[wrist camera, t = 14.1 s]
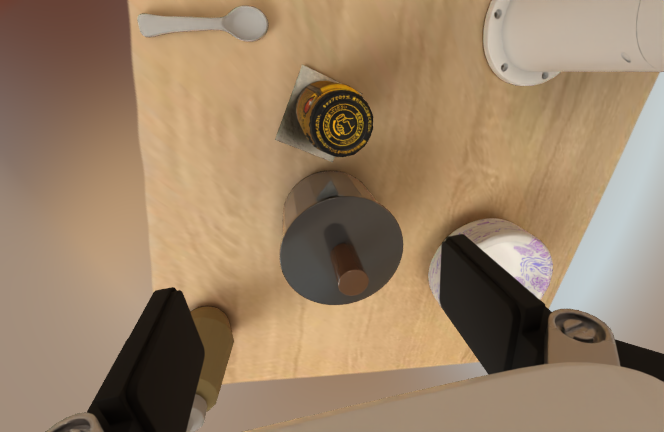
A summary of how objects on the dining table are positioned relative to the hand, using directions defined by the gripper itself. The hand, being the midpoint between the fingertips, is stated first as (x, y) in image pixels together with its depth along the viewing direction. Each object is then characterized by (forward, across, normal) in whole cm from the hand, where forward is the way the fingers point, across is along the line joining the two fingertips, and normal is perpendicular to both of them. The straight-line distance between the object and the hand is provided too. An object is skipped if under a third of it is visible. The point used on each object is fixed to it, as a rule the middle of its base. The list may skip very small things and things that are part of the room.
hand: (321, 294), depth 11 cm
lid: (+19, -3, +10) cm, 22 cm away
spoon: (+28, +6, -12) cm, 32 cm away
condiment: (+28, -4, -2) cm, 29 cm away
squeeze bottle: (+28, +16, +24) cm, 40 cm away
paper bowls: (+28, -23, +21) cm, 42 cm away
